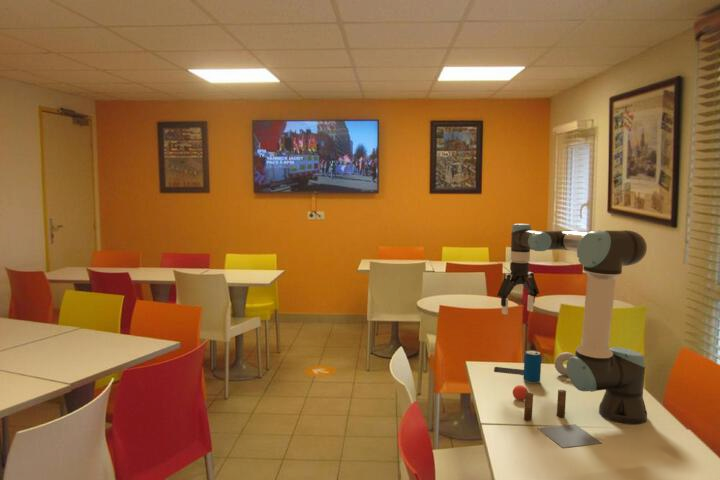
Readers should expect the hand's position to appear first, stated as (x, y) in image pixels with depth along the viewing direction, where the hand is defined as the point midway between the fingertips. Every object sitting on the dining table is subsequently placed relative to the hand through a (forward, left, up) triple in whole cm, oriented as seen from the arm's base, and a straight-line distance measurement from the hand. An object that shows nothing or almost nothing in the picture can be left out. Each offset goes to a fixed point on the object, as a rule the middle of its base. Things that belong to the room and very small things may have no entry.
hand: (517, 312), depth 238 cm
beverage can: (-9, -2, -26) cm, 28 cm away
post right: (-42, +6, -26) cm, 50 cm away
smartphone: (+4, 0, -27) cm, 27 cm away
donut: (-6, -20, -26) cm, 34 cm away
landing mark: (-56, +13, -26) cm, 63 cm away
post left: (-42, +19, -26) cm, 53 cm away
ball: (-26, +13, -23) cm, 37 cm away
